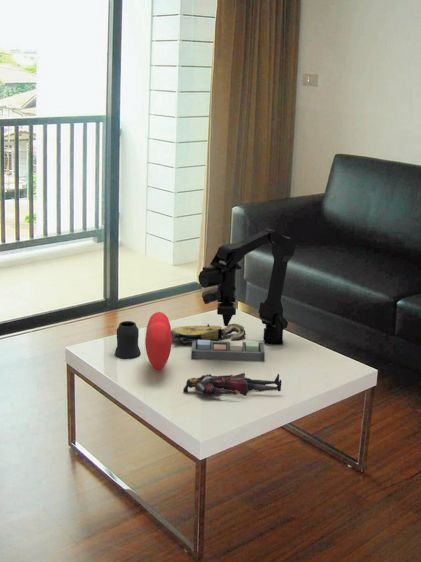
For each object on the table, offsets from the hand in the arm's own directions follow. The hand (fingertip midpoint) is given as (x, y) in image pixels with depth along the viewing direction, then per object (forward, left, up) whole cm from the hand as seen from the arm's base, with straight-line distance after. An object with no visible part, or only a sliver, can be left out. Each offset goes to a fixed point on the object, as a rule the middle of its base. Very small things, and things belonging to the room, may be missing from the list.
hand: (225, 325), depth 256 cm
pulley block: (+7, -14, -11) cm, 19 cm away
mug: (+34, +1, -11) cm, 36 cm away
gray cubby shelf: (-1, 0, -11) cm, 11 cm away
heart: (+22, +16, -11) cm, 29 cm away
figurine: (-2, +30, -11) cm, 32 cm away
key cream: (-4, 0, -9) cm, 10 cm away
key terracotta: (+2, 0, -10) cm, 10 cm away
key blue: (+7, 0, -9) cm, 11 cm away
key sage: (-9, 0, -9) cm, 13 cm away
